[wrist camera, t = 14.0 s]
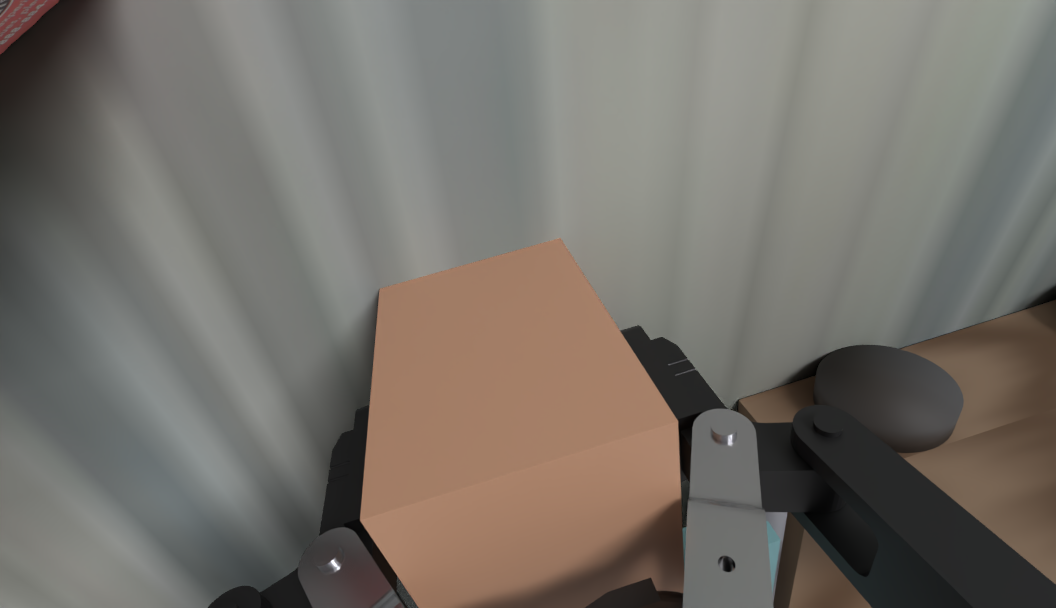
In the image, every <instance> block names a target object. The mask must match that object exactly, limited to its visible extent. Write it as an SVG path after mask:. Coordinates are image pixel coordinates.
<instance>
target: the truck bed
mask: <svg viewBox="0 0 1056 608" xmlns="http://www.w3.org/2000/svg"><path fill="white" fill-rule="evenodd" d="M812 405H827V406H832V407H835V408H839V409H841V410H843V411H845V412H847V413H849V414H850V415H852V416H853V417H854V418H856V419H857V420H858V421H859V422H860V423H862V424H863V425H864V426H865V427H866V428H868V429H869V430H870V431H871V432H872V433H874V434H875V435H876V436H877V437H878V438H880V439H881V440H882V441H883V442H884V443H886V444H887V445H888V446H889V447H891V448H892V449H893V450H894V451H895V452H897V453H898V454H899V455H900V456H901V457H903V458H904V459H905V460H906V461H907V462H909V463H910V464H911V465H912V466H913V467H915V468H916V469H917V470H918V471H920V472H921V473H922V474H923V475H924V476H926V477H927V478H928V479H929V480H930V481H932V482H933V483H934V484H935V485H936V486H938V487H939V488H940V489H941V490H942V491H944V492H945V493H946V494H947V495H948V496H950V497H951V498H952V499H953V500H955V501H956V502H957V503H958V504H959V505H961V506H962V507H963V508H964V509H965V510H967V511H968V512H969V513H970V514H971V515H973V516H974V517H975V518H976V519H977V520H979V521H980V522H981V523H982V524H983V525H985V526H986V527H987V528H988V529H990V530H991V531H992V532H993V533H994V534H996V535H997V536H998V537H999V538H1000V539H1002V540H1003V541H1004V542H1005V543H1006V544H1008V545H1009V546H1010V547H1011V548H1012V549H1014V550H1015V551H1016V552H1017V553H1018V554H1020V555H1021V556H1022V557H1023V558H1025V559H1026V560H1027V561H1028V562H1029V563H1031V564H1032V565H1033V566H1034V567H1035V568H1037V569H1038V570H1039V571H1040V572H1041V573H1043V574H1044V575H1045V576H1046V577H1047V578H1049V579H1050V580H1051V581H1052V582H1053V583H1055V584H1056V300H1054V301H1051V302H1047V303H1044V304H1041V305H1038V306H1035V307H1032V308H1028V309H1025V310H1022V311H1019V312H1016V313H1013V314H1009V315H1006V316H1003V317H1000V318H997V319H994V320H990V321H987V322H984V323H981V324H978V325H974V326H971V327H968V328H965V329H962V330H959V331H955V332H952V333H949V334H946V335H943V336H940V337H936V338H933V339H930V340H927V341H924V342H921V343H917V344H914V345H911V346H908V347H905V348H901V349H897V348H892V347H886V346H878V345H857V346H850V347H846V348H842V349H839V350H836V351H834V352H832V353H830V354H829V355H827V356H826V357H825V358H824V359H823V360H822V361H821V362H820V364H819V366H818V368H817V372H816V376H813V377H809V378H806V379H803V380H800V381H797V382H794V383H790V384H787V385H784V386H781V387H778V388H775V389H771V390H768V391H765V392H762V393H759V394H756V395H752V396H749V397H746V398H743V399H740V400H739V404H738V413H740V414H742V415H744V416H745V417H746V418H748V419H749V420H750V421H752V422H758V423H781V422H793V418H794V416H795V414H796V413H797V412H798V411H799V410H800V409H802V408H804V407H807V406H812ZM773 607H774V608H872V607H871V606H870V605H869V604H868V602H867V601H866V600H865V599H864V598H863V597H862V595H861V594H860V593H859V592H858V591H857V590H856V588H855V587H854V586H853V585H852V584H851V583H850V581H849V580H848V579H847V578H846V577H845V576H844V574H843V573H842V572H841V571H840V570H839V568H838V567H837V566H836V565H835V564H834V563H833V561H832V560H831V559H830V558H829V557H828V556H827V554H826V553H825V552H824V551H823V550H822V549H821V547H820V546H819V545H818V544H817V543H816V542H815V540H814V539H813V538H812V537H811V536H810V535H809V533H808V532H807V531H806V530H805V529H804V528H803V526H802V525H801V524H800V523H799V522H798V521H797V519H796V518H795V517H794V516H793V515H792V514H791V512H787V519H786V525H785V531H784V538H783V544H782V550H781V557H780V563H779V569H778V576H777V582H776V589H775V595H774V601H773Z"/></svg>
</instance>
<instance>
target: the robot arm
mask: <svg viewBox="0 0 1056 608" xmlns="http://www.w3.org/2000/svg"><path fill="white" fill-rule="evenodd" d="M620 332H621V333H622V335H623V336H624V338H625V339H626V341H627V342H628V344H629V346H630V347H631V349H632V350H633V352H634V353H635V355H636V356H637V358H638V360H639V361H640V363H641V364H642V366H643V367H644V369H645V370H646V372H647V374H648V375H649V377H650V378H651V380H652V381H653V383H654V384H655V386H656V388H657V389H658V391H659V392H660V394H661V395H662V397H663V398H664V400H665V402H666V403H667V405H668V406H669V408H670V409H671V411H672V412H673V414H674V416H675V417H676V419H677V420H678V431H679V455H680V480H681V481H684V480H687V479H688V481H689V483H690V493H689V498H688V508H687V528H686V549H685V570H684V590H683V593H680V592H674V591H657V590H656V588H655V586H654V583H653V581H652V579H651V578H648V579H645V580H642V581H639V582H636V583H633V584H630V585H627V586H624V587H621V588H618V589H615V590H612V591H609V592H607V593H605V594H604V595H602V596H601V597H599V598H598V599H597V600H595V601H594V602H592V603H591V604H589V605H588V606H586V607H585V608H774V607H773V595H772V583H771V571H770V559H769V547H768V535H767V523H766V514H765V512H791V514H792V515H793V516H794V517H795V518H796V519H797V521H798V522H799V523H800V524H801V525H802V526H803V528H804V529H805V530H806V531H807V532H808V533H809V535H810V536H811V537H812V538H813V539H814V540H815V542H816V543H817V544H818V545H819V546H820V547H821V549H822V550H823V551H824V552H825V553H826V554H827V556H828V557H829V558H830V559H831V560H832V561H833V563H834V564H835V565H836V566H837V567H838V568H839V570H840V571H841V572H842V573H843V574H844V576H845V577H846V578H847V579H848V580H849V581H850V583H851V584H852V585H853V586H854V587H855V588H856V590H857V591H858V592H859V593H860V594H861V595H862V597H863V598H864V599H865V600H866V601H867V602H868V604H869V605H870V606H871V607H872V608H1056V584H1055V583H1053V582H1052V581H1051V580H1050V579H1049V578H1047V577H1046V576H1045V575H1044V574H1043V573H1041V572H1040V571H1039V570H1038V569H1037V568H1035V567H1034V566H1033V565H1032V564H1031V563H1029V562H1028V561H1027V560H1026V559H1025V558H1023V557H1022V556H1021V555H1020V554H1018V553H1017V552H1016V551H1015V550H1014V549H1012V548H1011V547H1010V546H1009V545H1008V544H1006V543H1005V542H1004V541H1003V540H1002V539H1000V538H999V537H998V536H997V535H996V534H994V533H993V532H992V531H991V530H990V529H988V528H987V527H986V526H985V525H983V524H982V523H981V522H980V521H979V520H977V519H976V518H975V517H974V516H973V515H971V514H970V513H969V512H968V511H967V510H965V509H964V508H963V507H962V506H961V505H959V504H958V503H957V502H956V501H955V500H953V499H952V498H951V497H950V496H948V495H947V494H946V493H945V492H944V491H942V490H941V489H940V488H939V487H938V486H936V485H935V484H934V483H933V482H932V481H930V480H929V479H928V478H927V477H926V476H924V475H923V474H922V473H921V472H920V471H918V470H917V469H916V468H915V467H913V466H912V465H911V464H910V463H909V462H907V461H906V460H905V459H904V458H903V457H901V456H900V455H899V454H898V453H897V452H895V451H894V450H893V449H892V448H891V447H889V446H888V445H887V444H886V443H884V442H883V441H882V440H881V439H880V438H878V437H877V436H876V435H875V434H874V433H872V432H871V431H870V430H869V429H868V428H866V427H865V426H864V425H863V424H862V423H860V422H859V421H858V420H857V419H856V418H854V417H853V416H852V415H850V414H849V413H847V412H845V411H843V410H841V409H839V408H835V407H832V406H827V405H812V406H807V407H804V408H802V409H800V410H799V411H798V412H797V413H796V414H795V416H794V418H793V422H781V423H758V422H752V421H750V420H749V419H748V418H746V417H745V416H744V415H742V414H740V413H738V412H736V411H733V410H729V409H727V408H726V407H725V406H724V404H723V403H722V402H721V401H720V399H719V398H718V397H717V395H716V394H715V393H714V392H713V390H712V389H711V388H710V387H709V385H708V384H707V383H706V381H705V380H704V379H703V378H702V376H701V375H700V374H699V372H698V371H697V370H695V367H694V366H693V365H692V364H691V362H690V361H689V360H687V357H686V356H685V355H684V353H683V352H682V351H681V349H680V348H679V347H678V346H677V345H676V344H674V343H672V342H670V341H668V340H667V339H665V338H663V337H660V338H657V339H654V340H650V339H649V337H648V336H647V334H646V333H645V332H644V330H643V329H642V328H641V326H639V325H638V326H635V327H631V328H628V329H625V330H621V331H620ZM369 408H370V406H366V407H363V408H360V409H357V411H356V414H355V423H354V430H351V431H348V432H345V433H342V435H341V436H340V438H339V440H338V442H337V443H336V445H335V447H334V449H333V451H332V457H331V464H330V468H331V470H329V476H328V482H329V483H328V484H327V489H326V496H325V502H324V508H323V515H322V521H321V528H320V534H319V537H317V538H316V539H315V540H314V541H313V542H312V543H311V544H310V545H309V546H308V548H307V549H306V550H305V552H304V553H303V555H302V557H301V560H300V562H299V566H298V568H297V569H296V570H295V571H293V572H292V573H290V574H289V575H287V576H286V577H284V578H283V579H281V580H279V581H278V582H276V583H275V584H273V585H272V586H270V587H268V588H267V589H265V590H264V591H262V592H260V593H259V592H258V591H257V590H256V589H255V588H253V587H250V586H240V587H236V588H233V589H231V590H229V591H227V592H225V593H224V594H222V595H221V596H220V597H218V598H217V599H216V600H215V601H214V602H213V603H211V604H210V606H209V607H208V608H408V607H407V605H406V604H405V602H404V601H403V599H402V598H401V596H400V595H399V593H398V592H397V575H396V573H395V572H394V570H393V569H392V567H391V566H390V564H389V563H388V561H387V560H386V558H385V557H384V555H383V554H382V552H381V551H380V549H379V548H378V546H377V545H376V543H375V542H374V540H373V539H372V538H371V536H370V535H369V533H368V532H367V530H366V529H365V527H364V526H363V524H362V523H361V521H360V514H361V502H362V490H363V478H364V467H365V455H366V443H367V431H368V419H369Z"/></svg>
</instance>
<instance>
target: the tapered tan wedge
mask: <svg viewBox="0 0 1056 608" xmlns="http://www.w3.org/2000/svg"><path fill="white" fill-rule="evenodd" d="M360 521H361V523H362V524H363V526H364V527H365V529H366V530H367V532H368V533H369V535H370V536H371V538H372V539H373V540H374V542H375V543H376V545H377V546H378V548H379V549H380V551H381V552H382V554H383V555H384V557H385V558H386V560H387V561H388V563H389V564H390V566H391V567H392V569H393V570H394V572H395V573H396V575H397V576H398V578H399V579H400V581H401V582H402V584H403V585H404V587H405V588H406V589H407V591H408V592H409V594H410V595H411V597H412V598H413V600H414V601H415V603H416V604H417V606H418V607H419V608H585V607H586V606H588V605H589V604H591V603H592V602H594V601H595V600H597V599H598V598H599V597H601V596H602V595H604V594H605V593H607V592H609V591H612V590H615V589H618V588H621V587H624V586H627V585H630V584H633V583H636V582H639V581H642V580H645V579H648V578H651V579H652V581H653V583H654V586H655V588H656V590H657V591H674V592H680V593H683V590H684V552H683V528H682V504H681V480H680V455H679V431H678V420H677V419H676V417H675V416H674V414H673V412H672V411H671V409H670V408H669V406H668V405H667V403H666V402H665V400H664V398H663V397H662V395H661V394H660V392H659V391H658V389H657V388H656V386H655V384H654V383H653V381H652V380H651V378H650V377H649V375H648V374H647V372H646V370H645V369H644V367H643V366H642V364H641V363H640V361H639V360H638V358H637V356H636V355H635V353H634V352H633V350H632V349H631V347H630V346H629V344H628V342H627V341H626V339H625V338H624V336H623V335H622V333H621V332H620V330H619V328H618V327H617V325H616V324H615V322H614V321H613V319H612V318H611V316H610V314H609V313H608V311H607V310H606V308H605V307H604V305H603V304H602V302H601V300H600V299H599V297H598V296H597V294H596V293H595V291H594V290H593V288H592V286H591V285H590V283H589V282H588V280H587V279H586V277H585V276H584V274H583V272H582V271H581V269H580V268H579V266H578V265H577V263H576V262H575V260H574V258H573V257H572V255H571V254H570V252H569V251H568V249H567V248H566V246H565V244H564V243H563V241H562V240H561V238H559V239H555V240H552V241H548V242H545V243H541V244H537V245H534V246H530V247H527V248H523V249H520V250H516V251H513V252H509V253H505V254H502V255H498V256H495V257H491V258H488V259H484V260H481V261H477V262H473V263H470V264H466V265H463V266H459V267H456V268H452V269H449V270H445V271H441V272H438V273H434V274H431V275H427V276H424V277H420V278H417V279H413V280H409V281H406V282H402V283H399V284H395V285H392V286H388V287H384V288H381V289H380V290H379V302H378V314H377V325H376V337H375V349H374V361H373V372H372V384H371V396H370V408H369V419H368V431H367V443H366V455H365V467H364V478H363V490H362V502H361V514H360Z"/></svg>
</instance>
